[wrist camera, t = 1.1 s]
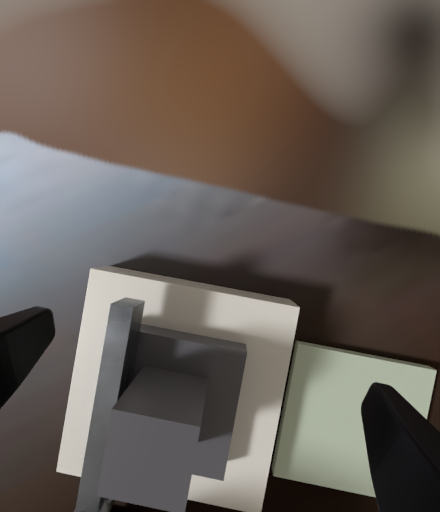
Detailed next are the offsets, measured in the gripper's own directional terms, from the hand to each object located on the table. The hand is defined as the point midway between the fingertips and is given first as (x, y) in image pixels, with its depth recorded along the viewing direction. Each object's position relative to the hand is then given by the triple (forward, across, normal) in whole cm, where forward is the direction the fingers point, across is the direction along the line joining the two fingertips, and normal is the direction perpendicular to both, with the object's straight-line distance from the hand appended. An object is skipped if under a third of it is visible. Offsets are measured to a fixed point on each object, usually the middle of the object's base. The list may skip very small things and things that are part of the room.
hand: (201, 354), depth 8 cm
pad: (+10, -10, +13) cm, 19 cm away
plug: (+9, +2, +11) cm, 15 cm away
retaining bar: (+6, +5, +11) cm, 13 cm away
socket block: (+10, +2, +11) cm, 15 cm away
